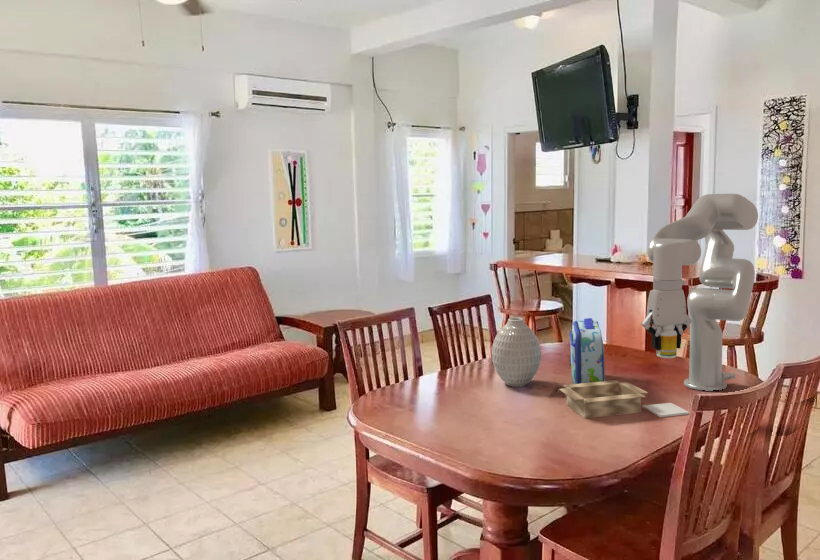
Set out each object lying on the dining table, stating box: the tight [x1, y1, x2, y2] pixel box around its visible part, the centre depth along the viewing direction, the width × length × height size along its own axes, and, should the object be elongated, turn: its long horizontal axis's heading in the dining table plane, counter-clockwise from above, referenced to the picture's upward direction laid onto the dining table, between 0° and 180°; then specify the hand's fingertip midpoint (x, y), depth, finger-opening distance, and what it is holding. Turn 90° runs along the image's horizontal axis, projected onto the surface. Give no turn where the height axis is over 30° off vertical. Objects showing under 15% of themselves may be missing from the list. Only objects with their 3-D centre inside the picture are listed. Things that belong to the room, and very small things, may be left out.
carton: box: [559, 379, 648, 419], centre depth 197 cm, size 22×17×6 cm
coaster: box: [642, 402, 690, 418], centre depth 194 cm, size 9×9×1 cm
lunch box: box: [569, 317, 606, 384], centre depth 222 cm, size 26×11×21 cm, turn 168°
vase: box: [491, 317, 542, 388], centre depth 224 cm, size 16×16×22 cm
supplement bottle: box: [655, 325, 678, 359], centre depth 191 cm, size 5×5×10 cm
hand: (666, 347), depth 191 cm, fingers closed on supplement bottle, 5 cm apart
